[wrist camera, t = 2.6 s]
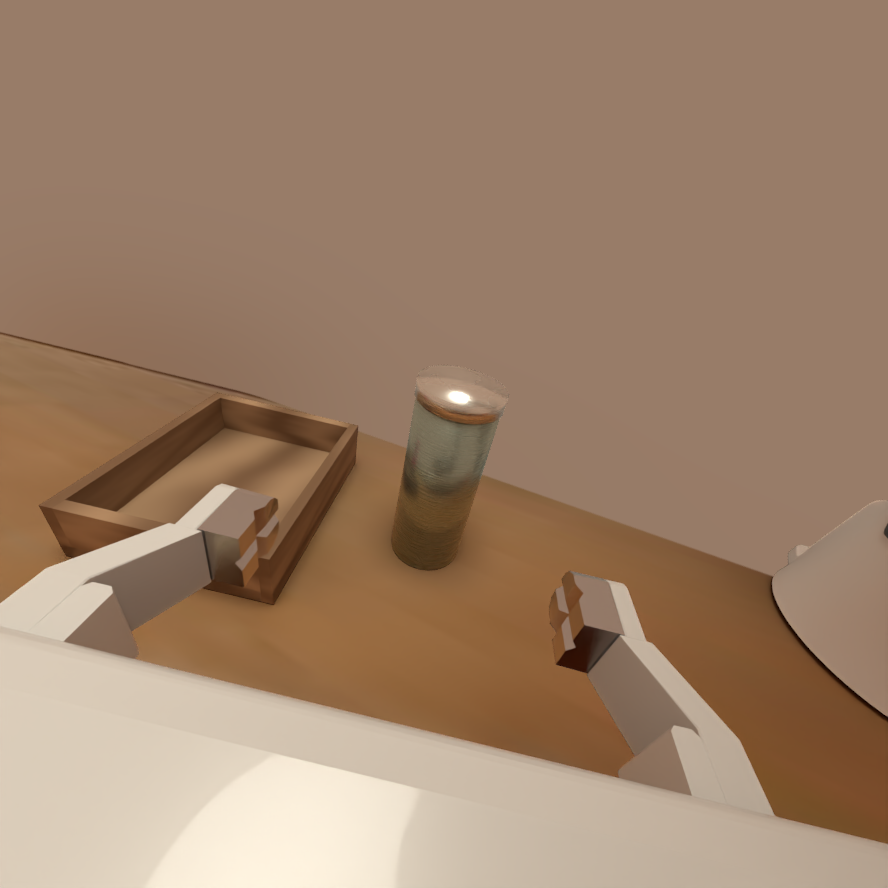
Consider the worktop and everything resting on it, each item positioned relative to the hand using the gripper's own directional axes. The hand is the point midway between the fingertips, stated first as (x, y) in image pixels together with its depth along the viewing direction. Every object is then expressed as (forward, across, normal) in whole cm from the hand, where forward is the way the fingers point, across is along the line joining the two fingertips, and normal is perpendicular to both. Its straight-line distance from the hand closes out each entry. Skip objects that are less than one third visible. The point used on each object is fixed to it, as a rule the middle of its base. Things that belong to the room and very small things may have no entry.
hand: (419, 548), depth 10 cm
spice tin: (+12, 0, +13) cm, 18 cm away
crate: (+12, +14, +13) cm, 23 cm away
